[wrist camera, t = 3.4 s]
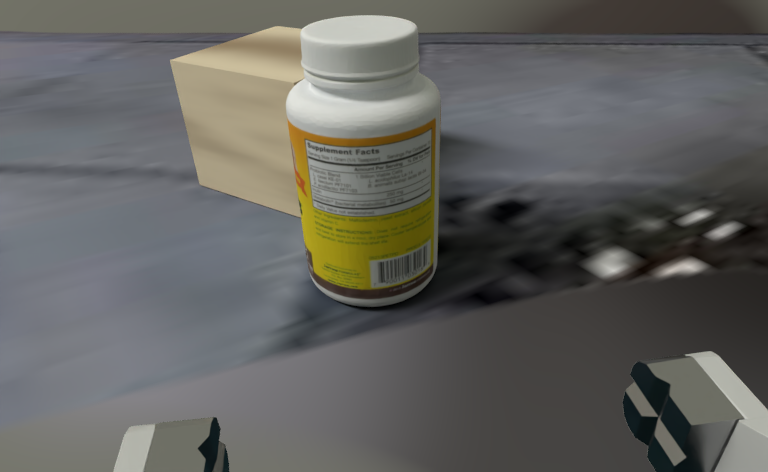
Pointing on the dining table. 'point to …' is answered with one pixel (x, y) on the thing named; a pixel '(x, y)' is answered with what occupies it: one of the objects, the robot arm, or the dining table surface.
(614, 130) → the dining table surface
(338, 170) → the supplement bottle
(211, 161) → the beech block
